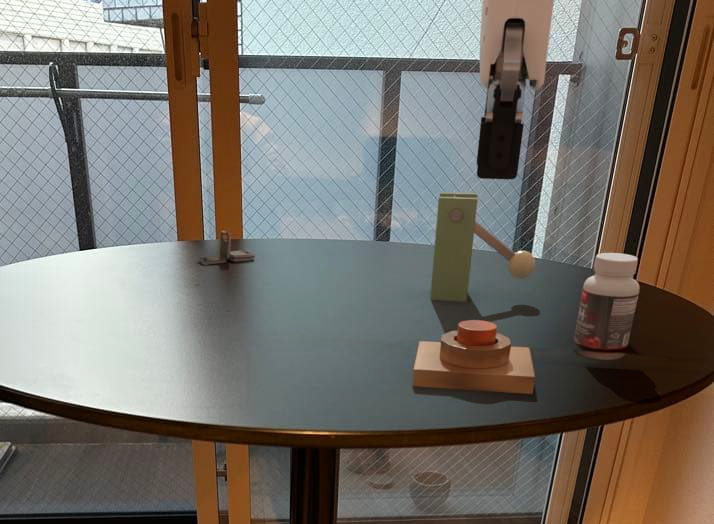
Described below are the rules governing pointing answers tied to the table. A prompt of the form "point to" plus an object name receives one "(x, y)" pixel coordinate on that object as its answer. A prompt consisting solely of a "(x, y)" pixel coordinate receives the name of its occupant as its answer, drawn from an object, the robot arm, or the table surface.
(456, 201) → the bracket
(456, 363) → the button block
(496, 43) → the robot arm
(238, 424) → the table surface
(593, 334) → the pill bottle
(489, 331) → the button
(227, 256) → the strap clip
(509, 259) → the lever
